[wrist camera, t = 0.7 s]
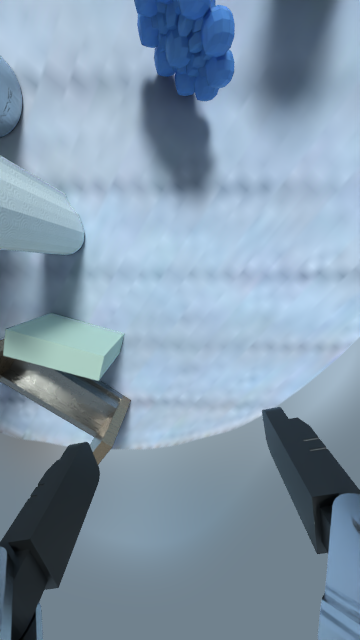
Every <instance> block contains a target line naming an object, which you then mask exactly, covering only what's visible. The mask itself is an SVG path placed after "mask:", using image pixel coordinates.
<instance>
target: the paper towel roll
mask: <svg viewBox="0 0 360 640" xmlns="http://www.w3.org/2000/svg"><path fill="white" fill-rule="evenodd" d="M84 234H85V233H84V230H83V227H82V224H81V221H80V218H79V215H78V214H77V213H76V212H75V210H74V209H73V208H72V207H71V205H70V204H69V202H68V200H67V197H66V194H65V193H63V192H61V191H60V190H58V189H56V188H55V187H53V186H51V185H50V184H48V183H46V182H45V181H43V180H41V179H40V178H38V177H36V176H34V175H33V174H31V173H29V172H28V171H26V170H24V169H23V168H21V167H19V166H18V165H16V164H14V163H12V162H11V161H9V160H7V159H6V158H4V157H2V156H1V155H0V250H12V251H24V252H36V253H48V254H60V255H68V254H73V253H75V252H76V251H78V250H79V249H80V248H81V246H82V244H83V242H84Z"/></svg>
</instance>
